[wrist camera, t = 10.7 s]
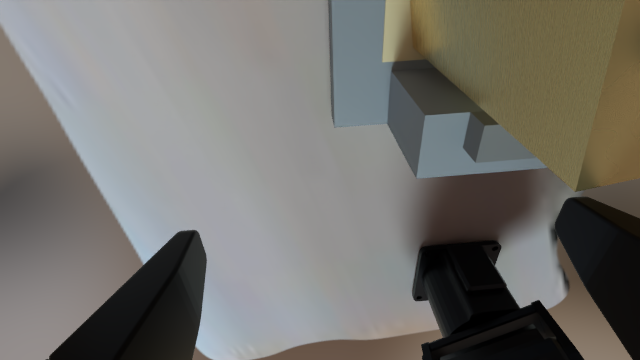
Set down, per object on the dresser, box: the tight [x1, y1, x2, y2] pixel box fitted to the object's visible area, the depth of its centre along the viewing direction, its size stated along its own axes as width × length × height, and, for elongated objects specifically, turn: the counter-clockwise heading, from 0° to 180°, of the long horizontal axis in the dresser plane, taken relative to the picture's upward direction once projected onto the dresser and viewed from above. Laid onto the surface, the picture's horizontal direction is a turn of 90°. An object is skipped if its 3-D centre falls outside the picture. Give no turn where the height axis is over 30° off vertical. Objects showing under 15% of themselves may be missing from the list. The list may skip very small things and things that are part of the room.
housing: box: [410, 0, 640, 192], centre depth 10 cm, size 5×5×14 cm
